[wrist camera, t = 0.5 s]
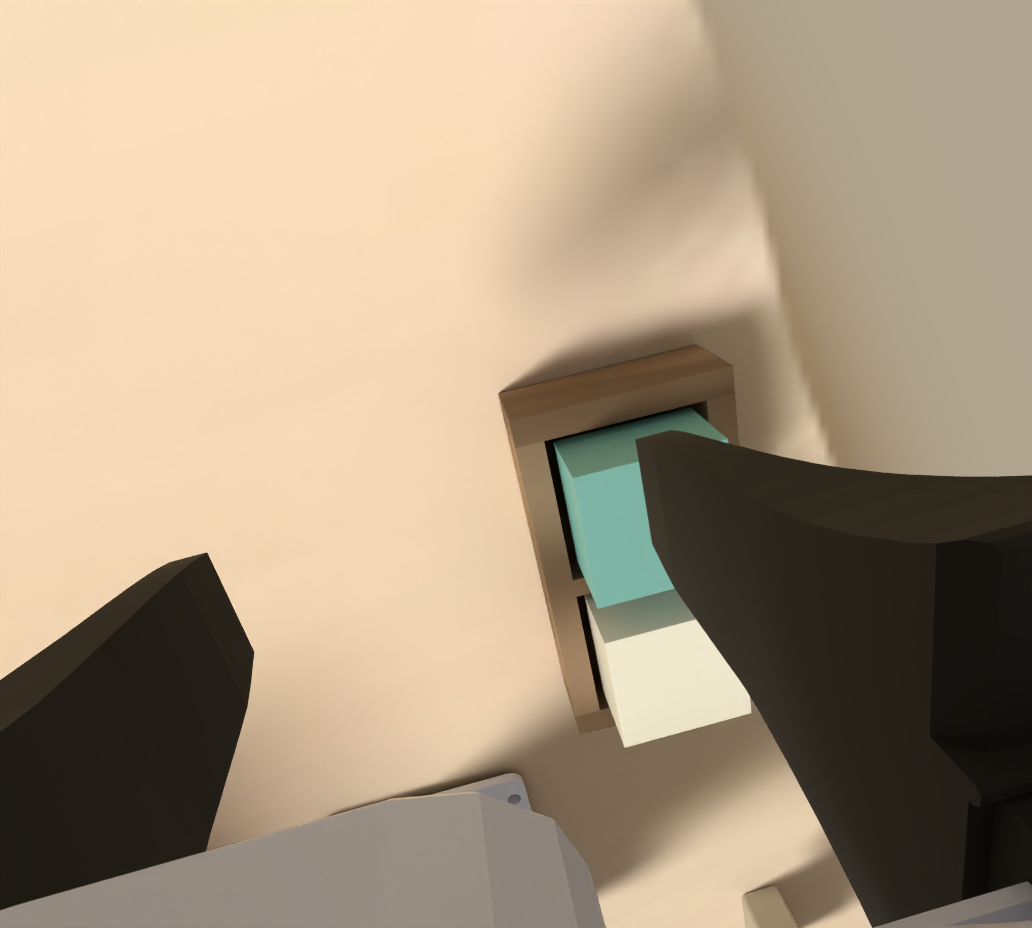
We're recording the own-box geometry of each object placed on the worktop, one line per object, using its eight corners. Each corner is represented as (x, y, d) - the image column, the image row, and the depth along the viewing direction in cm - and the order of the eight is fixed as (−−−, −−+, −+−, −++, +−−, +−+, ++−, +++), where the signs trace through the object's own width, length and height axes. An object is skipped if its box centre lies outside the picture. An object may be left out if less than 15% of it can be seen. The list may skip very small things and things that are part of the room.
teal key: (703, 528, 21) (739, 571, 19) (577, 561, 21) (597, 608, 19) (690, 407, 19) (727, 438, 17) (553, 442, 19) (572, 478, 17)
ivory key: (717, 659, 23) (751, 713, 21) (603, 690, 23) (624, 747, 21) (706, 560, 22) (742, 607, 19) (583, 593, 21) (604, 643, 19)
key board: (726, 640, 26) (757, 686, 23) (564, 683, 25) (580, 734, 23) (696, 344, 21) (732, 366, 19) (498, 393, 21) (509, 420, 18)
